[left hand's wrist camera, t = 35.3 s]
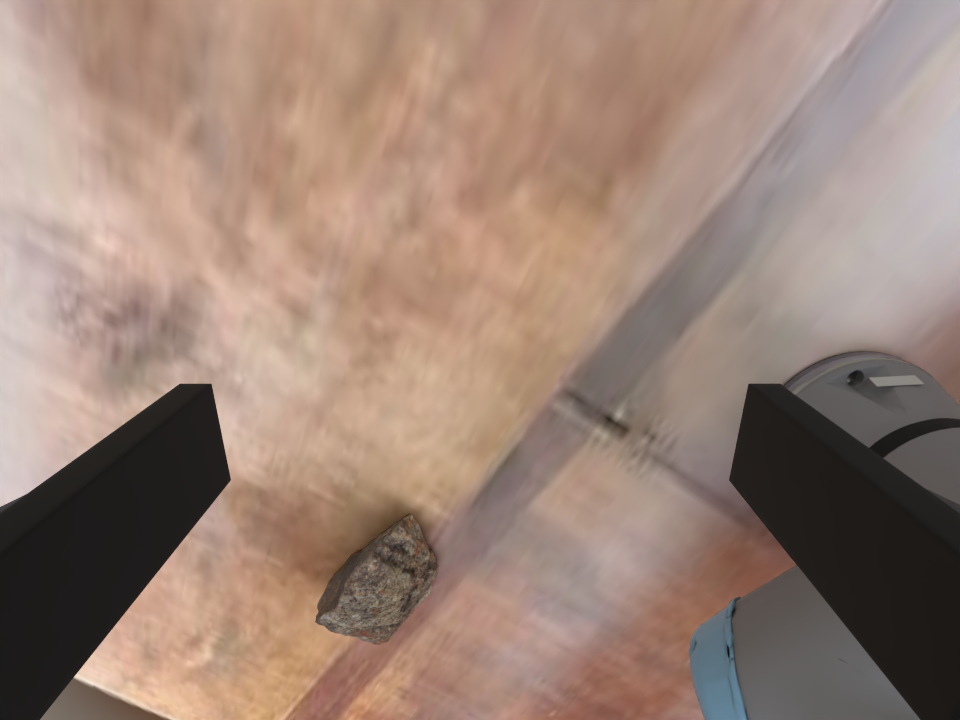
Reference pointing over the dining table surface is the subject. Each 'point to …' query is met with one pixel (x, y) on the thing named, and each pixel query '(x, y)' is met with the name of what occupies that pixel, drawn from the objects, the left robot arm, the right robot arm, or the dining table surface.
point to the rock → (380, 585)
